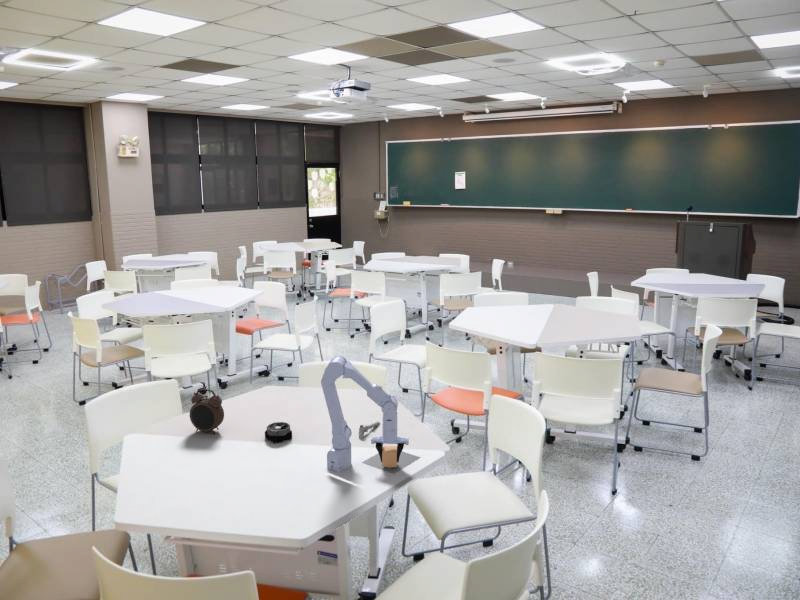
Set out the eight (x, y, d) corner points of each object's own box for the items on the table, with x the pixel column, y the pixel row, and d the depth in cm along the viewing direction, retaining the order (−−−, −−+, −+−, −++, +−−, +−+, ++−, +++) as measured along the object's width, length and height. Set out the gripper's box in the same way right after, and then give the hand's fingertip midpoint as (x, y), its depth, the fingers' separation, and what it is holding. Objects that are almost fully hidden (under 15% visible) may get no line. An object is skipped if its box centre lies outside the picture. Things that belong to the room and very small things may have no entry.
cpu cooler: (281, 419, 274) (294, 426, 267) (282, 431, 275) (295, 438, 268) (261, 426, 267) (274, 432, 260) (262, 438, 268) (275, 445, 261)
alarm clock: (188, 433, 272) (185, 390, 268) (197, 427, 279) (195, 385, 275) (218, 436, 269) (215, 393, 265) (226, 430, 276) (224, 388, 272)
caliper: (361, 440, 266) (361, 426, 265) (358, 440, 267) (358, 426, 266) (380, 423, 285) (380, 410, 284) (378, 423, 286) (378, 410, 284)
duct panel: (393, 476, 233) (393, 464, 232) (361, 464, 243) (361, 453, 242) (420, 459, 247) (420, 448, 246) (389, 449, 257) (389, 438, 256)
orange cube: (396, 467, 236) (396, 452, 235) (382, 466, 236) (382, 452, 235) (397, 460, 241) (397, 446, 240) (383, 460, 242) (383, 445, 241)
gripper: (409, 424, 240) (409, 457, 242) (372, 423, 241) (372, 455, 243) (408, 431, 233) (408, 465, 235) (370, 430, 234) (370, 463, 236)
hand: (389, 461), depth 239 cm, fingers closed on orange cube, 6 cm apart
